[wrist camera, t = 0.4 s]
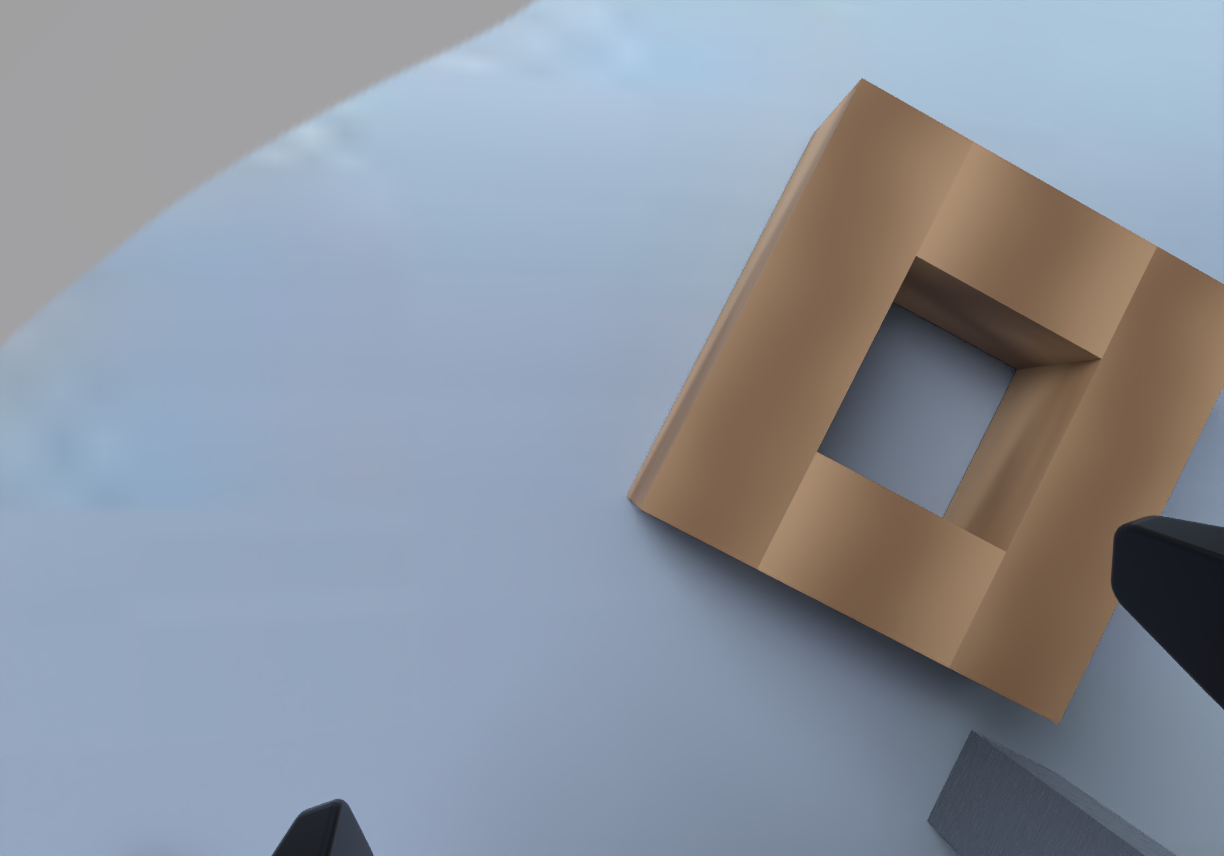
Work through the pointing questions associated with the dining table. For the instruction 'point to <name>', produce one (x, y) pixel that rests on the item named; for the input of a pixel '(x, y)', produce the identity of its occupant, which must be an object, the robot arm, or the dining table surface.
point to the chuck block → (1017, 435)
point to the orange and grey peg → (1026, 810)
